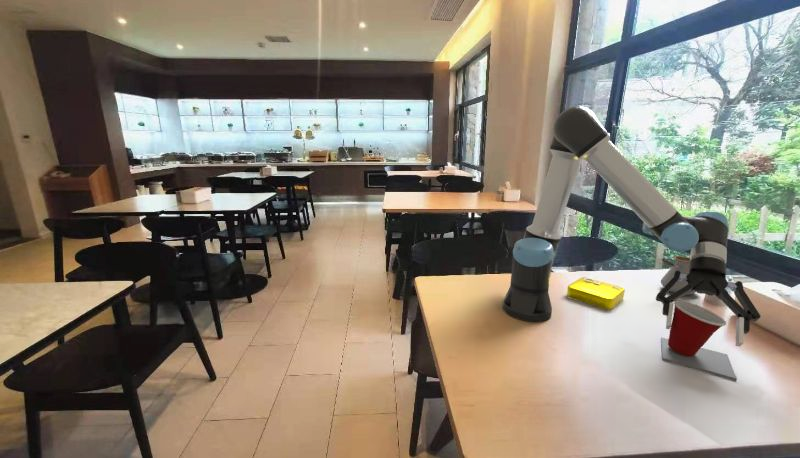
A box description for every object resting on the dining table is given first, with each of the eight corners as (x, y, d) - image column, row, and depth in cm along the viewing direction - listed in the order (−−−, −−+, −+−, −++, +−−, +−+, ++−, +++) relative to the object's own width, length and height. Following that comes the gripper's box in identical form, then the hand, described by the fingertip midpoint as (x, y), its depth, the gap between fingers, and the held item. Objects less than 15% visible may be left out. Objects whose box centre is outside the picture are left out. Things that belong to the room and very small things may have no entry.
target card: (662, 359, 89) (662, 357, 89) (660, 339, 99) (661, 337, 99) (736, 380, 82) (736, 378, 82) (726, 356, 91) (727, 354, 91)
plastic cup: (717, 368, 86) (739, 327, 83) (670, 357, 88) (689, 316, 84) (692, 342, 97) (710, 304, 93) (650, 333, 98) (666, 295, 94)
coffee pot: (669, 283, 140) (677, 247, 137) (703, 294, 130) (713, 256, 126) (637, 292, 131) (644, 254, 127) (671, 305, 121) (680, 264, 117)
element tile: (564, 297, 127) (566, 284, 126) (581, 286, 137) (582, 275, 135) (610, 311, 116) (612, 298, 115) (624, 299, 126) (626, 286, 125)
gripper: (766, 278, 91) (766, 357, 83) (650, 260, 105) (640, 325, 96) (777, 265, 86) (779, 347, 77) (653, 247, 99) (643, 315, 91)
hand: (702, 335), depth 87 cm, fingers open, 13 cm apart
